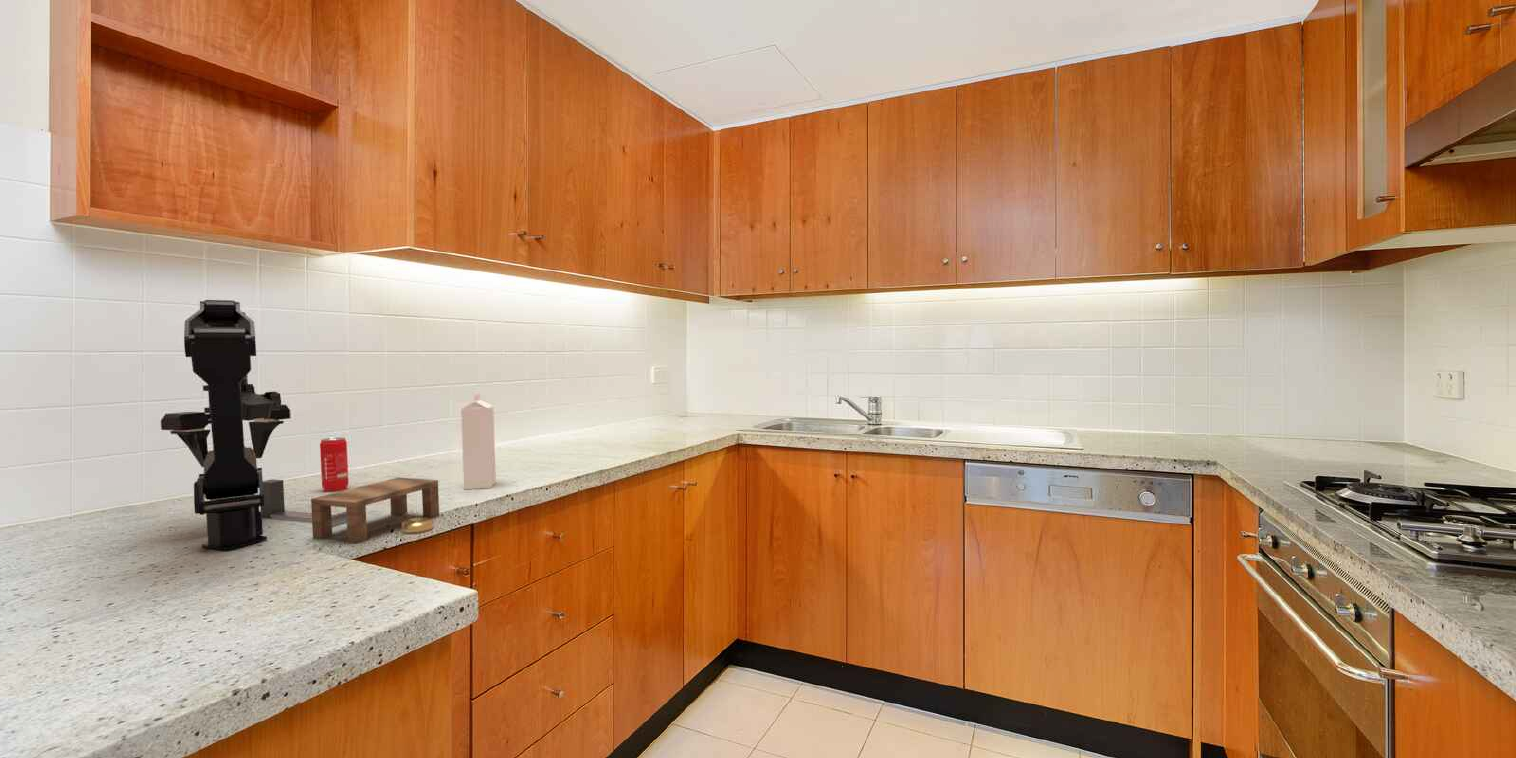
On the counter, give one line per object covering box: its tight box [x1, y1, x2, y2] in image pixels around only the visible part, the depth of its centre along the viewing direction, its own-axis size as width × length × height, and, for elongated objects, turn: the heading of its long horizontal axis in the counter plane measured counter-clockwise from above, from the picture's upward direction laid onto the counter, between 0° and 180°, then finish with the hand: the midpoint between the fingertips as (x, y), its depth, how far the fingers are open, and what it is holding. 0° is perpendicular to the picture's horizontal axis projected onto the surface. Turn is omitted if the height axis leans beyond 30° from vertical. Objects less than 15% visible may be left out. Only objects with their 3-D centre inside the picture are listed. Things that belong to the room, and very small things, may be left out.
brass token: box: [401, 517, 434, 535], centre depth 114 cm, size 5×5×2 cm
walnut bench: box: [310, 477, 440, 544], centre depth 117 cm, size 18×10×7 cm, turn 163°
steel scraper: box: [260, 479, 347, 528], centre depth 122 cm, size 6×20×7 cm, turn 73°
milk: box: [460, 393, 497, 490], centre depth 149 cm, size 6×6×22 cm
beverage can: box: [319, 437, 349, 493], centre depth 148 cm, size 5×5×12 cm
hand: (232, 462), depth 118 cm, fingers open, 9 cm apart
